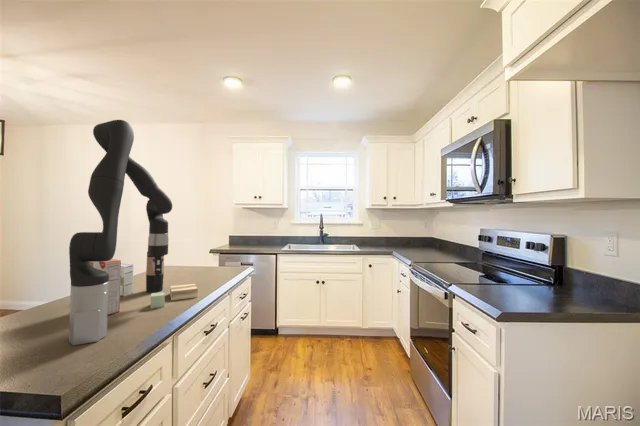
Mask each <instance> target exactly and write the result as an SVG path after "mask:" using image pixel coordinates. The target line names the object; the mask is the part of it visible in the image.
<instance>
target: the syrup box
mask: <svg viewBox="0 0 640 426" xmlns="http://www.w3.org/2000/svg"><path fill="white" fill-rule="evenodd" d="M133 289H134V263H121V272H120V297H127V296H129V295H131V294H133V291H134V290H133Z"/></svg>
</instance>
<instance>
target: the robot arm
mask: <svg viewBox="0 0 640 426" xmlns="http://www.w3.org/2000/svg"><path fill="white" fill-rule="evenodd" d="M92 134H93V137H94V140H95V141H96V142H97V144H98V145H99V146H100V147H101V148H102V149H103V150H104V152H105V154H104V156H103V157H102V159H101V160H100V161H99V162H98V164H97V165H96V166H95V168H94V169H93V171H92V173H91V175H90V180H89V185H88V189H87V194H88V197H89V200H90V201H91V203H92V205H93V206H94V207H95V209H96V210H97V212H98V213H99V217H101V221H102V231H101V232H99V231H96V232H95V231H94V232H93V231H92V232H91V231H90V232H89V231H85V232H84V231H82V232H76V233H74V234H73V235H72V237H71V238H70V241H69V249H68V251H69V252H68V256H69V278H70V293H69V295H70V296H69V297H70V299H69V320H68V321H69V324H68V330H69V331H68V344H71V346H77V345H83V344H90V343H96V342H99V341H100V340H102V339H103V338H105V337H107V335H108V317H109V315H108V286H109V274H108V273H107V272H105V271H102V270H98V269H96V268H94V267H92V266H91V265H90V264H89V262H95V261H109V260H111V259H114V256H115V254H116V250H117V249H116V248H117V241H118V240H117V239H118V225H119V214H120V208H121V202H122V197H123V194H124V188H125V187H124V186H125V178H126V177H125V176H126V175H127V177H128V178H129V179H130V181H131V182H132V183H133V185H134V187H135V188H136V190H137V191H138V192H139V193H140V195H141V196H143V197H145V198H147V199H148V200H147V203H146V205H145V206H146V207H145V208H146V209H145V210H146V216H147V220H148V222H149V225H148V226H149V230H148V231H149V232H148V240H147V241H148V242H147V252H148V255H149V256H154V259H152V263H153V270H154V279H155V281H154V283H155V284H160V283H161V274H162V269H163V258H161V256H162V255H164V256H166V255H169V222H168V220H167V219H165V218H164V215H166V214H169V213H170V212H171V211H172V210H173V203H172V200H171V198H170V197H169V196H168V195H167V194H166V193H165V192H164V191H163V190H162V189H161V188H160V187H159V186H158V184H157V183H156V181H155V179H154V178H153V176H152V174H151V173H150V172H149V171H148V170H147V169H146V168H145V167H144V166H142V165H141V164H140V163H138V162H137V161H135V160H134V159H133V158H132V157H130V153H131V150H132V147H133V143H134V140H135V135H134V130H133V128H132V126H131V125H130V123H129V122H127V121H126V120H124V119H113V120H109V121H106V122H101V123H98V124H96V125H95V126H94V127H93V131H92ZM159 270H160V271H159Z"/></svg>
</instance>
